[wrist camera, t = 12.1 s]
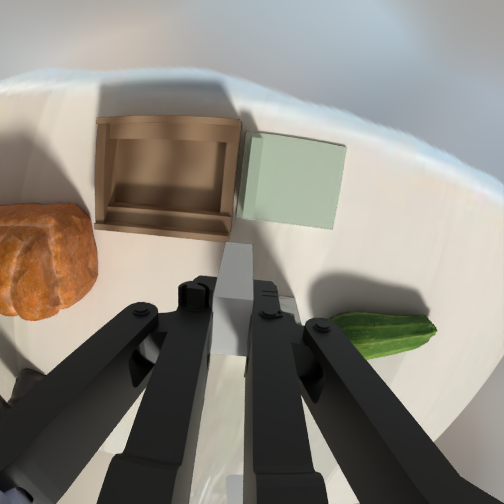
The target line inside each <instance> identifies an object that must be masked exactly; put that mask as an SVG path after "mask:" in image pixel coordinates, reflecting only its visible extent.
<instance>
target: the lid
mask: <svg viewBox="0 0 504 504" xmlns="http://www.w3.org/2000/svg"><path fill="white" fill-rule="evenodd" d="M346 148H347V147H343V146H338V145H333V144H328V143H322V142H317V141H311V140H305V139H299V138H293V137H286V136H279V135H272V134H264V133H256V132H247V131H246V137H245V145H244V154H243V162H242V171H241V179H240V188H239V197H238V206H237V215H236V218H243V219H249V220H260V221H269V222H277V223H285V224H293V225H300V226H308V227H315V228H323V229H330V230H333V225H334V220H335V215H336V210H337V204H338V198H339V193H340V187H341V181H342V175H343V168H344V162H345V155H346Z"/></svg>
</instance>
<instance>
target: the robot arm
mask: <svg viewBox="0 0 504 504" xmlns="http://www.w3.org/2000/svg"><path fill="white" fill-rule="evenodd" d="M210 350H211V353H215V354H224V355H235V356H247V357H246V365H245V373H244V377H245V421H244V475H243V478H244V479H243V504H328V498H327V492H326V487H325V482H324V479H323V476H322V475H321V473H319V472H315V470H314V467H313V463H312V457H311V451H310V445H309V439H308V433H307V427H306V421H305V415H304V410H303V404H302V398H301V395H302V397H303V399H304V401H305V403H306V405H307V407H308V408H309V410H310V412H311V414H312V416H313V418H314V420H315V422H316V424H317V425H318V427H319V429H320V431H321V433H322V435H323V437H324V439H325V440H326V442H327V444H328V446H329V448H330V450H331V452H332V453H333V455H334V457H335V459H336V461H337V463H338V464H339V466H340V468H341V470H342V472H343V474H344V475H345V477H346V479H347V481H348V483H349V485H350V486H351V488H352V490H353V492H354V494H355V495H356V497H357V499H358V501H359V503H360V504H504V503H503V502H501V501H499V500H498V499H496V498H494V497H493V496H491V495H489V494H488V493H486V492H484V491H483V490H481V489H479V488H478V487H476V486H475V485H473V484H471V483H470V482H468V481H467V480H465V479H464V478H462V477H460V475H459V474H458V473H457V471H456V470H455V469H454V468H453V466H452V465H451V464H450V463H449V461H448V460H447V459H446V457H445V456H444V455H443V454H442V452H441V451H440V450H439V449H438V447H437V446H436V445H435V444H434V442H433V441H432V440H431V439H430V437H429V436H428V435H427V434H426V432H425V431H424V430H423V429H422V427H421V426H420V425H419V424H418V422H417V421H416V420H415V419H414V418H413V416H412V415H411V414H410V413H409V411H408V410H407V409H406V408H405V406H404V405H403V404H402V403H401V402H400V400H399V399H398V398H397V397H396V396H395V394H394V393H393V392H392V391H391V389H390V388H389V387H388V386H387V385H386V383H385V382H384V381H383V380H382V379H381V377H380V376H379V375H378V374H377V372H376V371H375V370H374V369H373V368H372V366H371V365H370V364H369V363H368V362H367V360H366V359H365V358H364V357H363V356H362V355H361V353H360V352H359V351H358V350H357V349H356V347H355V346H354V345H353V344H352V343H351V341H350V340H349V339H348V338H347V337H346V335H345V334H344V333H343V332H342V331H341V330H340V328H339V327H338V326H337V325H336V324H335V323H334V322H332V321H330V320H328V319H324V318H312V319H309V320H308V321H306V324H305V326H302V325H298V324H295V323H292V322H290V321H288V320H287V318H286V315H285V313H284V312H283V311H282V310H281V308H280V302H279V297H278V291H277V286H276V285H275V284H274V283H273V282H272V281H260V280H253V254H252V244H243V243H233V242H226V245H225V249H224V253H223V257H222V261H221V265H220V269H219V274H218V277H210V276H198V277H197V278H195V279H194V280H193V281H188V282H184V283H182V284H180V285H179V286H178V308H177V310H176V311H173V312H168V313H158V308H157V307H156V306H155V305H153V304H150V303H145V302H137V303H134V304H131V305H129V306H127V307H126V308H125V309H124V310H122V311H121V312H120V313H119V314H117V315H116V316H115V317H114V318H113V319H111V320H110V321H109V322H108V323H107V324H105V325H104V326H103V327H102V328H101V329H99V330H98V331H97V332H96V333H95V334H93V335H92V336H91V337H90V338H89V339H88V340H86V341H85V342H84V343H83V344H82V345H81V346H79V347H78V348H77V349H76V350H75V351H74V352H72V353H71V354H70V355H69V356H68V357H67V358H65V359H64V360H63V361H62V362H61V363H60V364H59V365H57V366H56V367H55V368H54V369H53V370H52V371H51V372H49V373H48V374H47V375H46V376H43V375H42V374H40V373H38V372H36V371H34V370H31V369H23V370H22V371H21V372H20V373H19V375H18V376H17V378H16V383H15V385H14V388H13V392H12V395H11V398H10V399H9V401H8V402H6V401H5V400H4V399H3V398H2V396H1V395H0V504H56V503H57V502H58V501H59V500H60V498H61V497H62V496H63V495H64V493H65V492H66V491H67V490H68V488H69V487H70V486H71V485H72V483H73V482H74V481H75V479H76V478H77V476H78V475H79V474H80V473H81V471H82V470H83V469H84V467H85V466H86V465H87V464H88V462H89V461H90V460H91V458H92V457H93V456H94V454H95V453H96V452H97V450H98V449H99V448H100V447H101V445H102V444H103V443H104V441H105V440H106V439H107V437H108V436H109V435H110V433H111V432H112V431H113V429H114V428H115V427H116V426H117V424H118V423H119V422H120V420H121V419H122V418H123V416H124V415H125V414H126V412H127V411H128V410H129V409H130V407H131V406H132V405H133V403H134V402H135V401H136V399H137V398H138V397H139V395H140V394H141V393H142V392H143V390H144V389H145V388H146V390H145V392H144V395H143V398H142V401H141V403H140V406H139V409H138V412H137V414H136V417H135V420H134V423H133V426H132V429H131V432H130V435H129V438H128V440H127V443H126V446H125V449H124V451H123V452H122V453H121V454H116V455H115V456H114V457H113V458H112V460H111V462H110V464H109V467H108V471H107V473H106V476H105V479H104V482H103V485H102V488H101V491H100V494H99V497H98V501H97V504H189V499H190V492H191V484H192V477H193V469H194V462H195V455H196V448H197V441H198V434H199V428H200V421H201V414H202V408H203V401H204V395H205V389H206V382H207V376H208V370H209V364H210ZM146 386H147V387H146Z"/></svg>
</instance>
